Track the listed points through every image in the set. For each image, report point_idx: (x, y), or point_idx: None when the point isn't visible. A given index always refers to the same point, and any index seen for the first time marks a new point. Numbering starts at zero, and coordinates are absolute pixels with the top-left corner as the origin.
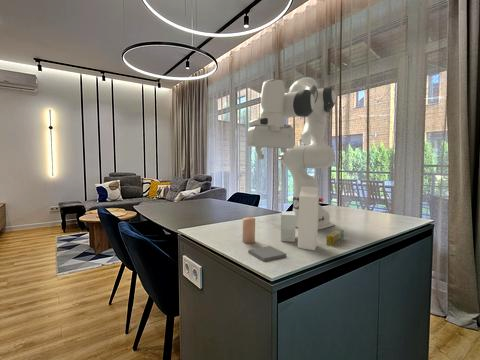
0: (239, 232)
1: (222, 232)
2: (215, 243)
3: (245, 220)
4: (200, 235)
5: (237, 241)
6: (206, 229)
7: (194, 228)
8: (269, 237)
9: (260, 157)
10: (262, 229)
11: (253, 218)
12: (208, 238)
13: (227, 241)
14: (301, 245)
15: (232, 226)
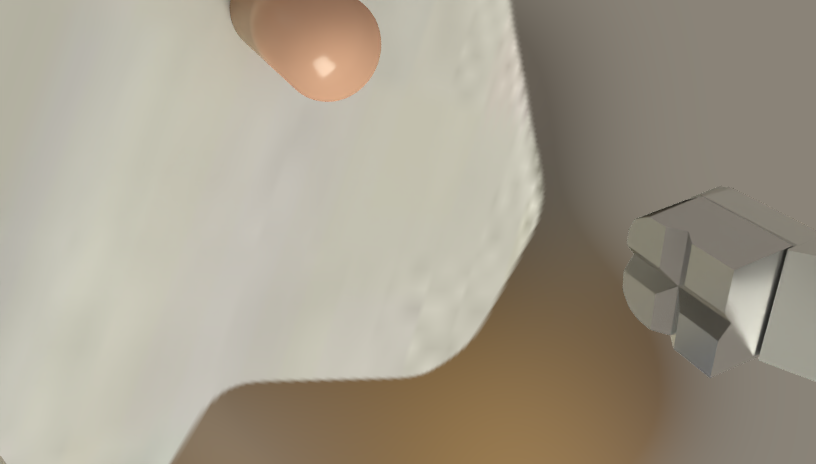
0: (264, 229)
1: (366, 240)
2: (471, 29)
3: (370, 15)
4: (492, 196)
5: None
6: (429, 306)
7: (478, 327)
8: (77, 71)
9: (745, 203)
10: (64, 289)
11: (295, 41)
12: (473, 133)
13: (398, 50)
14: None
15: (265, 366)
